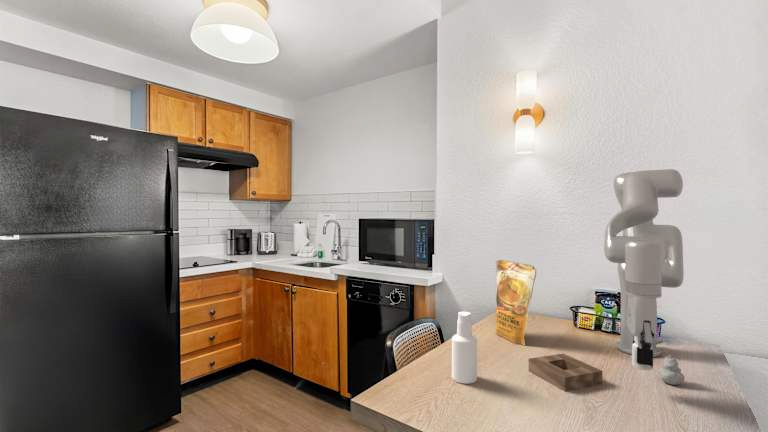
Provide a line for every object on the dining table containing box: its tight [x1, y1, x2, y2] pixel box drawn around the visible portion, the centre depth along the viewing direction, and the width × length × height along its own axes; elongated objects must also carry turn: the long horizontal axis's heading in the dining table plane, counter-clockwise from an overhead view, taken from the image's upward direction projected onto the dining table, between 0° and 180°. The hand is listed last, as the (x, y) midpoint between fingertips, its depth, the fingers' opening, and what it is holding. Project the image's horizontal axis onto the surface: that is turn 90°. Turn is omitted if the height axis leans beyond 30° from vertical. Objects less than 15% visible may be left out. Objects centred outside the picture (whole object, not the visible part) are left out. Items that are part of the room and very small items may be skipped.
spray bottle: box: [451, 311, 478, 385], centre depth 99 cm, size 7×7×18 cm
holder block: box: [528, 353, 603, 392], centre depth 100 cm, size 13×13×4 cm
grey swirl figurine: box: [658, 354, 685, 386], centre depth 97 cm, size 5×7×8 cm
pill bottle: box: [631, 335, 654, 371], centre depth 92 cm, size 4×4×8 cm
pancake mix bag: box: [494, 259, 537, 346], centre depth 133 cm, size 7×19×28 cm, turn 20°
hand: (642, 359), depth 92 cm, fingers closed on pill bottle, 4 cm apart
